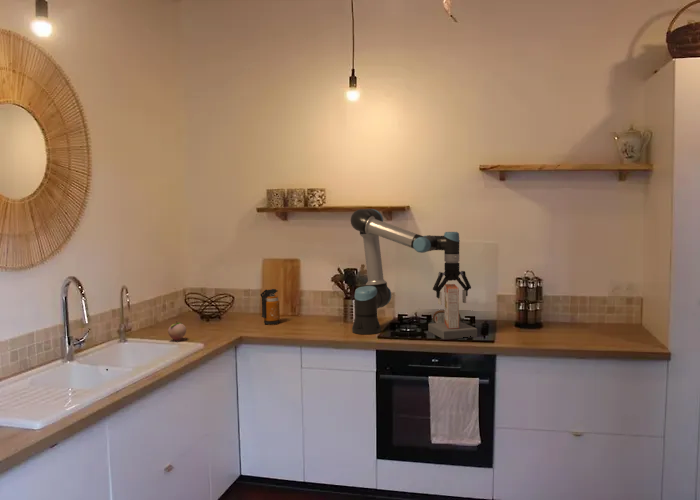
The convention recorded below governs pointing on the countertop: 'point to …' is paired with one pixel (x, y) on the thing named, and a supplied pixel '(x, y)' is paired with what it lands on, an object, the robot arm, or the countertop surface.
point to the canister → (270, 307)
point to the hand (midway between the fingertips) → (452, 303)
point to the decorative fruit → (177, 331)
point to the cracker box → (451, 306)
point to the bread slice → (440, 316)
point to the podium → (452, 331)
